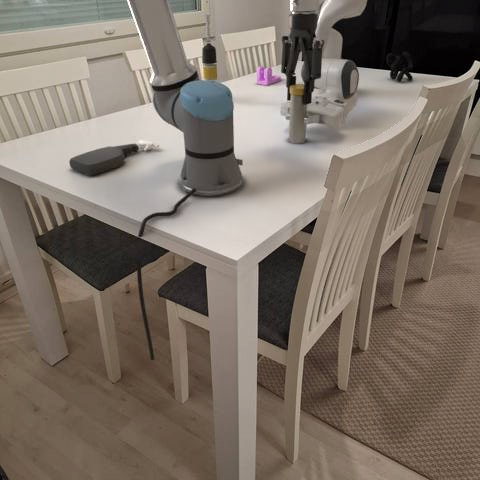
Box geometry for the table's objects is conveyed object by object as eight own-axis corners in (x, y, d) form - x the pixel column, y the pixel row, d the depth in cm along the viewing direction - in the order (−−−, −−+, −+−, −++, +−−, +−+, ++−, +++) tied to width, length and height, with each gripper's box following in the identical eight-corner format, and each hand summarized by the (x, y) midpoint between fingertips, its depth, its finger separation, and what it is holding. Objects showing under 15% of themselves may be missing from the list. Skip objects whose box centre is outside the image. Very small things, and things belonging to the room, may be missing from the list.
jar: (305, 138, 137) (308, 86, 129) (305, 143, 133) (308, 90, 125) (289, 137, 138) (291, 86, 130) (288, 143, 134) (290, 90, 126)
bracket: (267, 85, 196) (267, 68, 192) (256, 83, 199) (256, 67, 195) (282, 79, 205) (283, 63, 201) (272, 78, 208) (273, 62, 204)
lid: (294, 89, 131) (294, 83, 130) (312, 91, 129) (312, 85, 128) (286, 94, 127) (286, 87, 126) (304, 96, 125) (305, 89, 124)
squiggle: (400, 92, 202) (376, 71, 205) (417, 76, 202) (392, 56, 205) (405, 81, 191) (380, 59, 194) (423, 64, 191) (397, 42, 194)
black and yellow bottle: (220, 99, 177) (217, 15, 161) (206, 100, 176) (202, 16, 160) (215, 96, 182) (212, 14, 166) (202, 97, 180) (197, 14, 164)
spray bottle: (67, 168, 120) (139, 144, 136) (91, 178, 114) (163, 151, 130) (65, 157, 118) (137, 134, 134) (89, 167, 112) (162, 142, 128)
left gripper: (268, 11, 121) (267, 98, 133) (321, 15, 109) (314, 110, 121) (288, 9, 125) (285, 93, 137) (341, 13, 113) (332, 105, 125)
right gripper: (296, 93, 144) (269, 102, 136) (352, 104, 133) (326, 114, 124) (295, 112, 148) (268, 122, 139) (349, 125, 136) (324, 136, 127)
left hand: (299, 101), depth 129 cm, fingers closed on lid, 6 cm apart
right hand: (296, 119), depth 131 cm, fingers closed on jar, 5 cm apart
